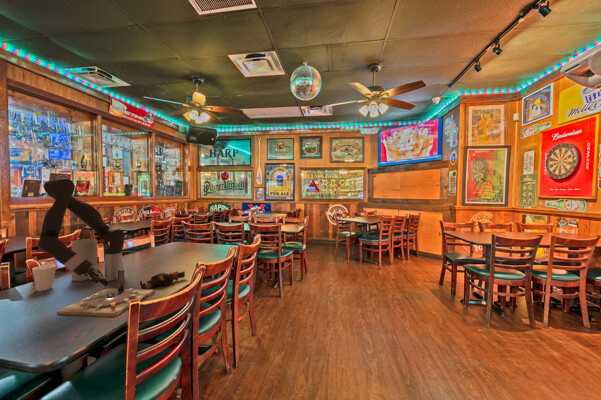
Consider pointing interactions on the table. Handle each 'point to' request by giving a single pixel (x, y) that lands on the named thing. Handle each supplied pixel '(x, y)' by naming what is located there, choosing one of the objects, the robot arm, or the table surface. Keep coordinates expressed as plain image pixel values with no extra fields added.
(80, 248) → the cylinder vase
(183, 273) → the leprechaun
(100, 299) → the sprocket
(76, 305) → the base board
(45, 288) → the foam cup
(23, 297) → the table surface
